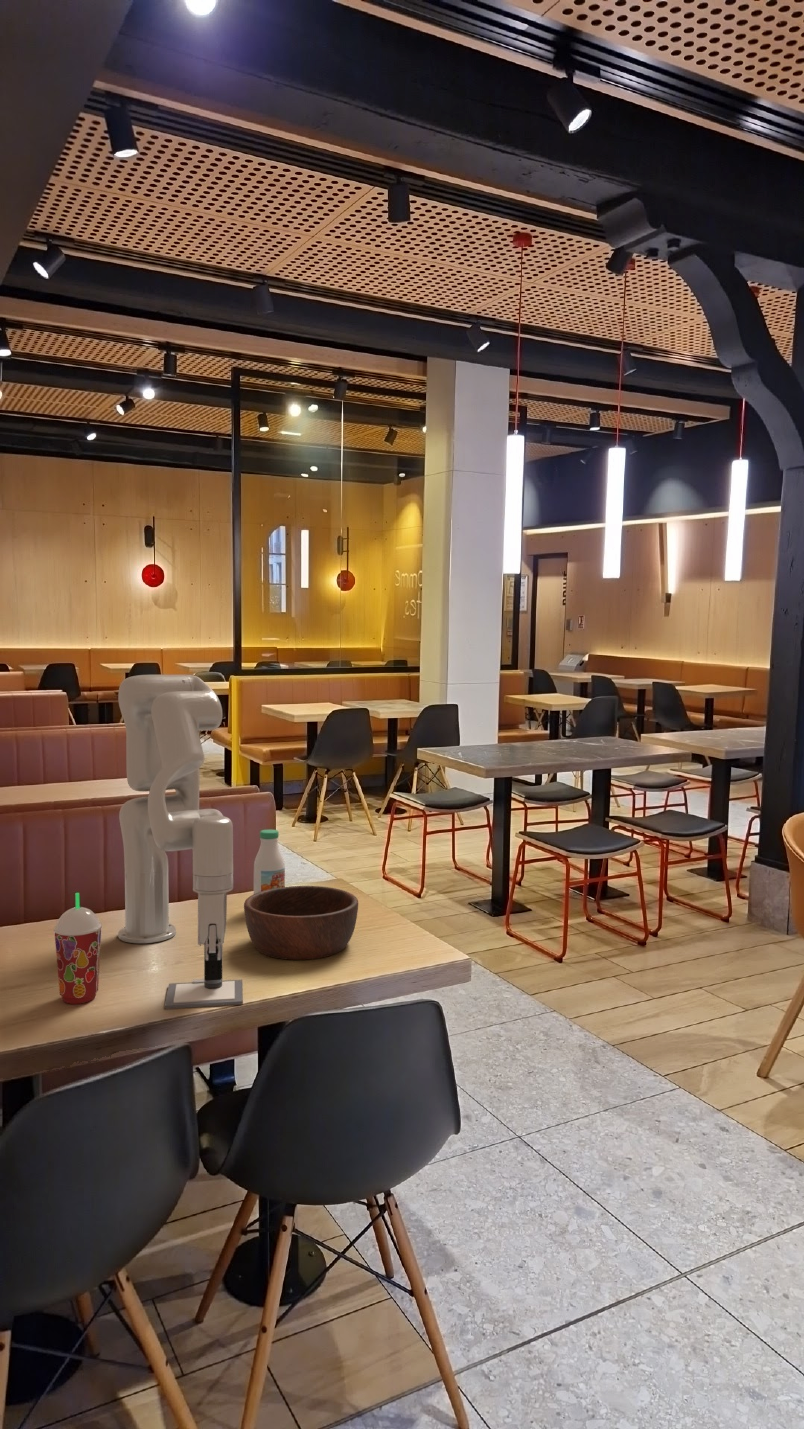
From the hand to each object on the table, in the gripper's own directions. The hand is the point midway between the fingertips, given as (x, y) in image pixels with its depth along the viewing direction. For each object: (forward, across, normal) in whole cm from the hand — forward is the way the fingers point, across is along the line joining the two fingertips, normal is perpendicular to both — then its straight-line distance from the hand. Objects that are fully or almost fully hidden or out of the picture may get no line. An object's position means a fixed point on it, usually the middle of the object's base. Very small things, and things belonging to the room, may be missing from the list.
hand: (213, 974), depth 175 cm
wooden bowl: (+3, -24, +18) cm, 30 cm away
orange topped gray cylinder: (+2, 0, 0) cm, 2 cm away
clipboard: (+3, +2, -2) cm, 4 cm away
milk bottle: (+3, -52, +12) cm, 53 cm away
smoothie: (+3, +1, -25) cm, 25 cm away
